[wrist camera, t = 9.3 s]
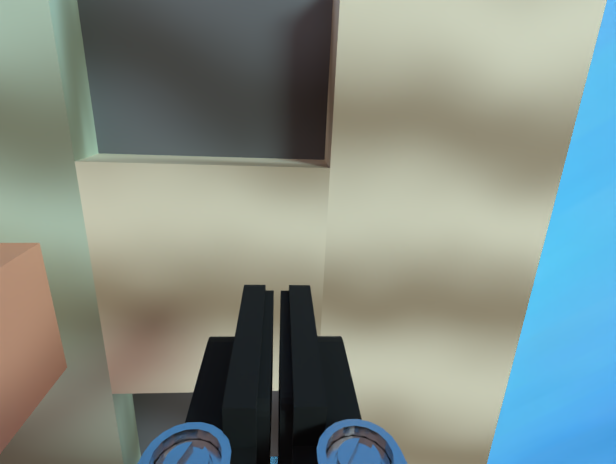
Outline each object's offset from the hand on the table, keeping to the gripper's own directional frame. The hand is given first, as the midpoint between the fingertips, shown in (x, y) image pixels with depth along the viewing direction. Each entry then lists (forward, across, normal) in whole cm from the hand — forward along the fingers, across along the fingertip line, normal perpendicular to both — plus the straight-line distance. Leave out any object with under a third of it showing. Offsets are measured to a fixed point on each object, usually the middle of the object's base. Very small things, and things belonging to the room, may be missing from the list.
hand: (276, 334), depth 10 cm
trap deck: (+6, +2, +1) cm, 6 cm away
